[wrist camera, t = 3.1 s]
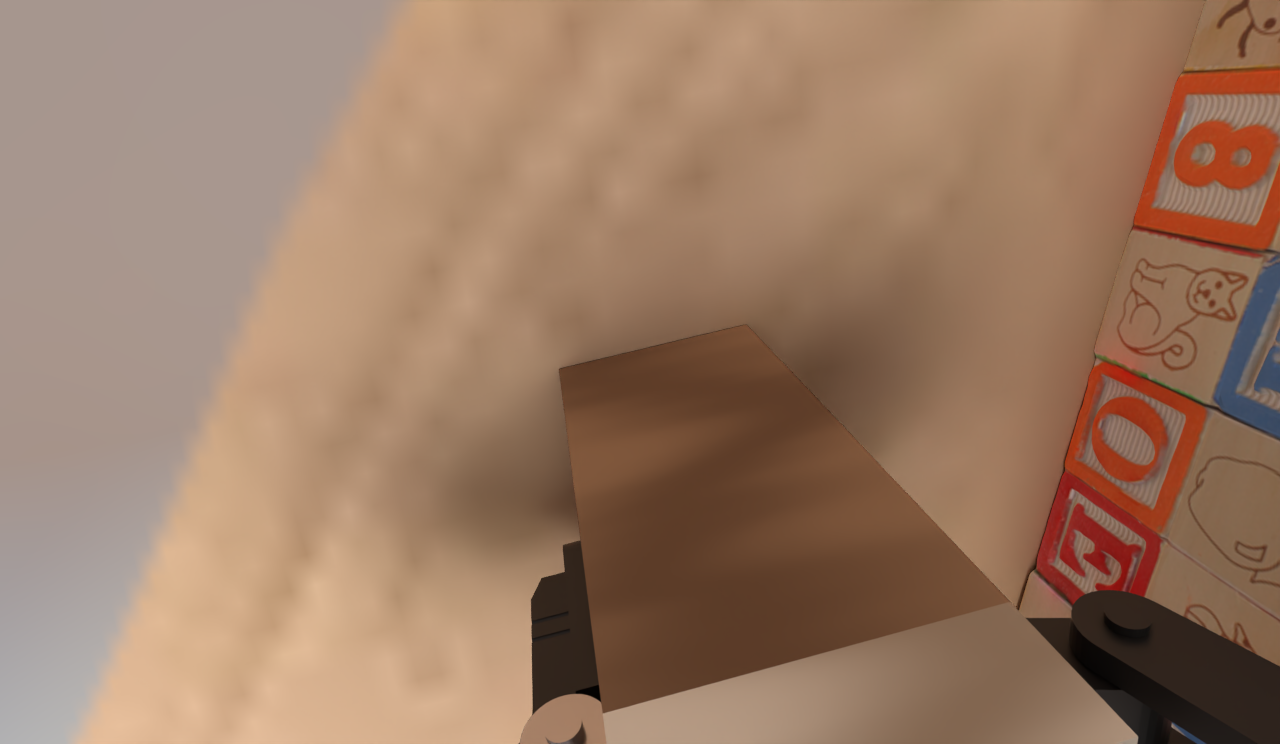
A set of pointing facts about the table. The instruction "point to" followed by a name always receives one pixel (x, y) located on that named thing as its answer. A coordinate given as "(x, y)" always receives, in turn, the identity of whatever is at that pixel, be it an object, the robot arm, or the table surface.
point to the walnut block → (785, 573)
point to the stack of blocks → (1189, 365)
